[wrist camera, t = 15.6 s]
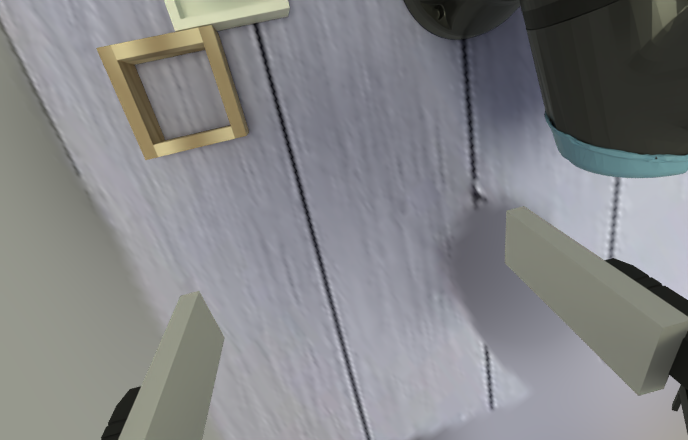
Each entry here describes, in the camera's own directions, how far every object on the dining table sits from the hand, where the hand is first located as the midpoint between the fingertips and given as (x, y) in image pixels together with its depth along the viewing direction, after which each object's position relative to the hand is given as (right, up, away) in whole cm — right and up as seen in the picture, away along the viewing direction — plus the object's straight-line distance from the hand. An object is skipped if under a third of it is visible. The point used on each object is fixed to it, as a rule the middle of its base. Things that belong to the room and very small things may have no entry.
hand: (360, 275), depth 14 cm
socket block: (-17, +15, +21) cm, 31 cm away
